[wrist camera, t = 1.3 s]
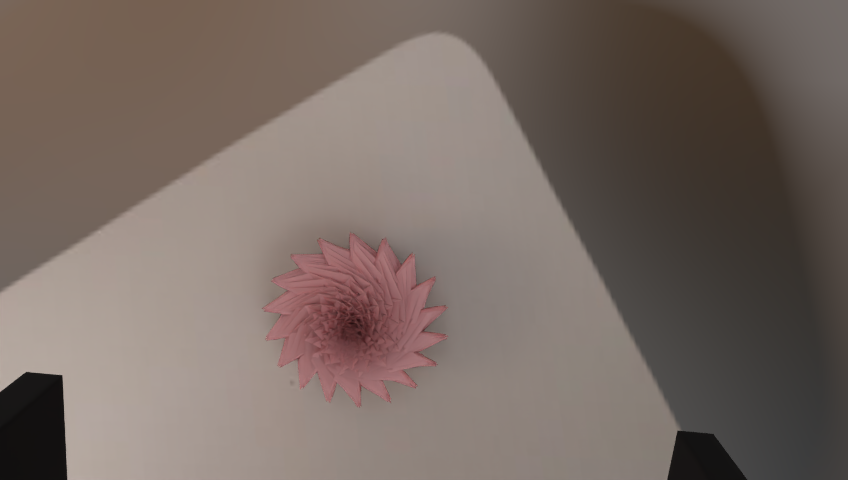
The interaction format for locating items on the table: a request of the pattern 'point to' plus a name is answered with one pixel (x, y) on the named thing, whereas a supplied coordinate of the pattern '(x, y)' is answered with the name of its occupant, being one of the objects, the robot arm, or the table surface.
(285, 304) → the flower
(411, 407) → the table surface
